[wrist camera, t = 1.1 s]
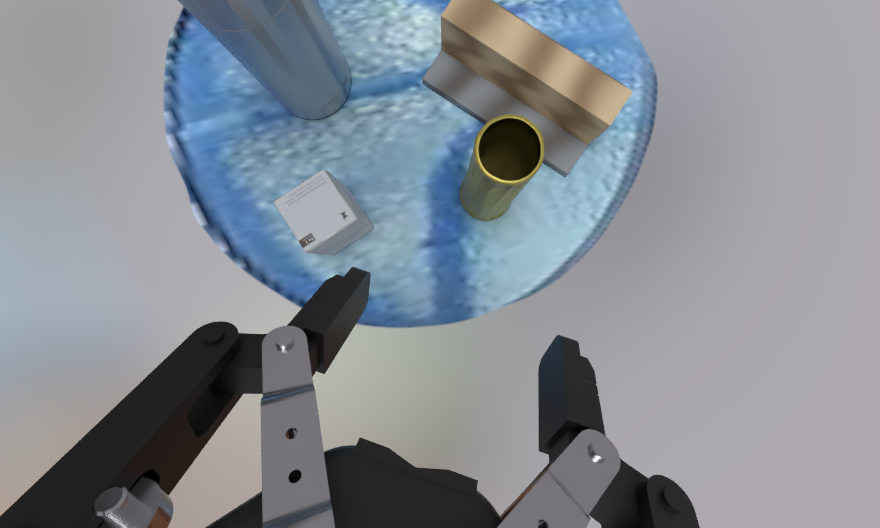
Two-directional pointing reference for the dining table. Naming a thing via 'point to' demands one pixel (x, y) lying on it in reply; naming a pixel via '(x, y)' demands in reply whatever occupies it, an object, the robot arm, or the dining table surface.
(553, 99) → the ridge
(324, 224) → the skincare box
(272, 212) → the dining table surface
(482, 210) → the vase
